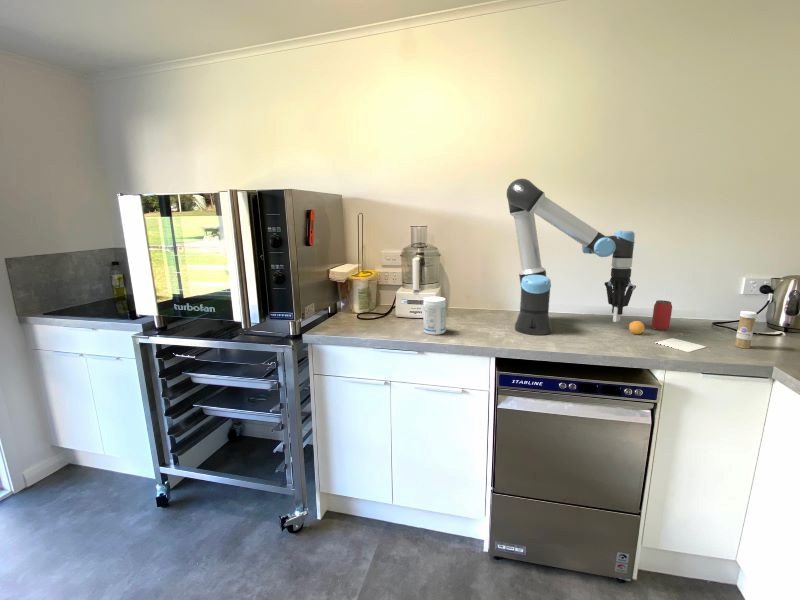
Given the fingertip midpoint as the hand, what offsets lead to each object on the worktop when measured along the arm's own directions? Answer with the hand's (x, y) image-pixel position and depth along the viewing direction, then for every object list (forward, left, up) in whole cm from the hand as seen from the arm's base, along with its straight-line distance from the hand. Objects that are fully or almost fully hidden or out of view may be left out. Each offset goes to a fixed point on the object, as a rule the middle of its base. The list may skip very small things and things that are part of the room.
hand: (616, 321), depth 169 cm
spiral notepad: (+26, 0, -3) cm, 26 cm away
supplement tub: (-33, -73, -3) cm, 80 cm away
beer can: (+9, +17, -3) cm, 19 cm away
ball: (+9, 0, 0) cm, 9 cm away
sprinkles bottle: (+38, +18, -3) cm, 42 cm away
